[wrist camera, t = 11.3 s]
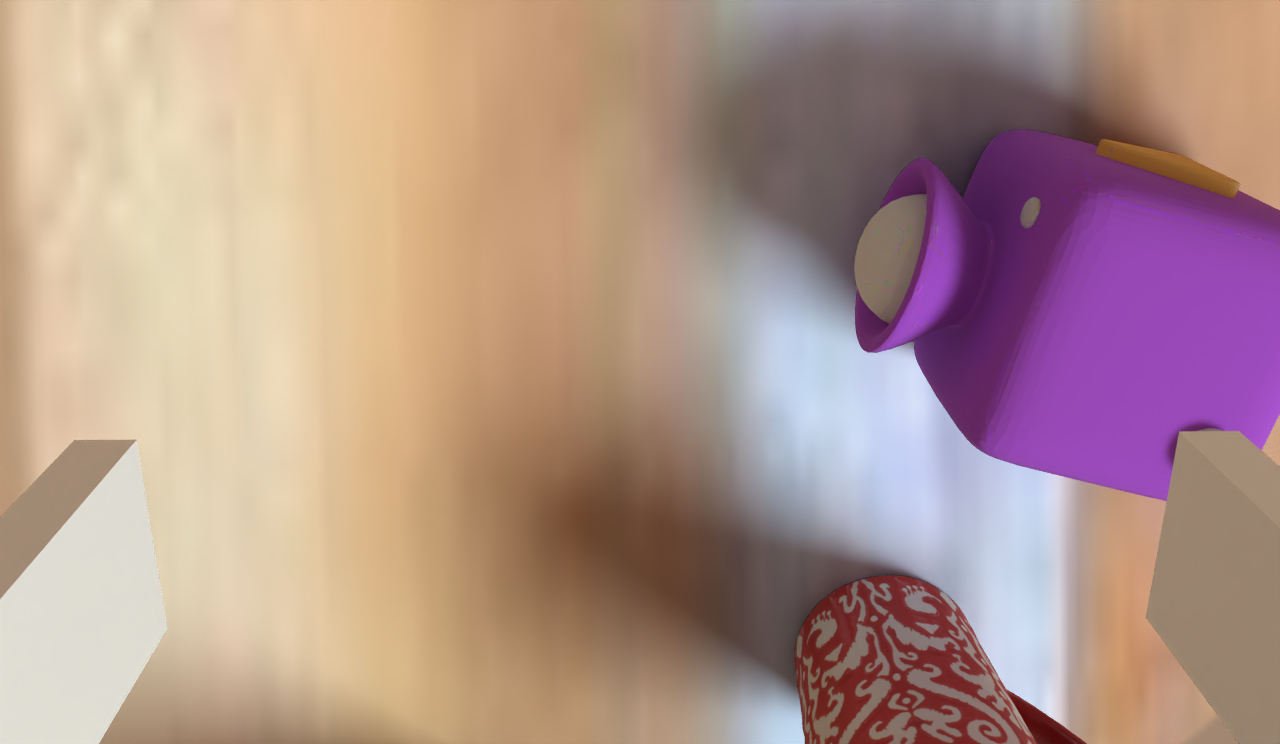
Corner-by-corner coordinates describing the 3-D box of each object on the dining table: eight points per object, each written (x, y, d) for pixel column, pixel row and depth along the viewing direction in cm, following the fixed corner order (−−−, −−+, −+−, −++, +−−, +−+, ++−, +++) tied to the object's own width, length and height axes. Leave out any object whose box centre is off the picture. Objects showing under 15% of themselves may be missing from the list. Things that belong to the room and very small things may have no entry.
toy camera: (847, 98, 42) (914, 159, 33) (1234, 125, 43) (1406, 191, 34) (809, 388, 46) (859, 514, 37) (1164, 408, 47) (1301, 537, 38)
